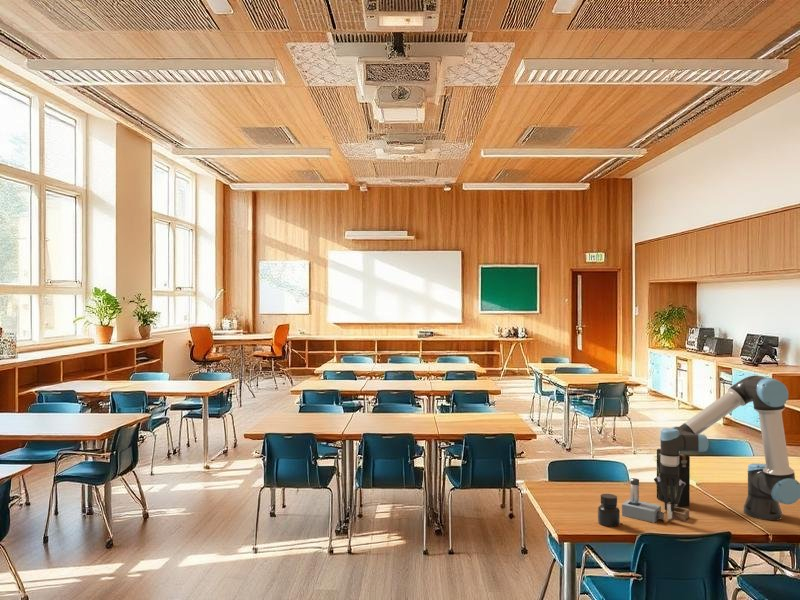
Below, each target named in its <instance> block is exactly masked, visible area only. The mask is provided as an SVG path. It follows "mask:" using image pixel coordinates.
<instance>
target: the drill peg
mask: <svg viewBox="0 0 800 600" xmlns="http://www.w3.org/2000/svg"><path fill="white" fill-rule="evenodd" d="M629 481H630V482H629V483H630V484H629V486H630V492H629V493H630V497H629V499H630V505H635V506H639V501H640V479H638V478H630V480H629Z"/></svg>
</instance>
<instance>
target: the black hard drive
mask: <svg viewBox="0 0 800 600" xmlns="http://www.w3.org/2000/svg"><path fill="white" fill-rule="evenodd" d="M660 459H661V448H657V449H656V477H659V475H660V465H661V464H662V463H661V462H660ZM690 461H691V458H690V454H689V455H688V454H685V453H683V452H681V451H679V465H678V466H679V477H680V480H681V481H683V482H685V483H686V485H685V486H684V487H683V490H682V494H681V498H680V501H679V503H678V504H675V507H680V508H688V507H690V505H691V504H690V503H691V502H690V501H691V499H690V496H691V493H690V492H691V491H690V489H691V487H690V486H691V485H690V484H691V483H690V482H691V478H690V476H691V473H690V467H691V465H690V463H691V462H690ZM660 480H661V479H660ZM660 482H661V486H662V490H663V494H664V483H663V482H662V480H661V481H660ZM679 487H680V486H679V482H678V483H677V484H676V485H675V500H676V497H677V493H678V489H679ZM656 498H657V500H659V501H661V500H660V497H659V493H658V489H657V488H656ZM669 502H670V503H671V489H670V486H669Z"/></svg>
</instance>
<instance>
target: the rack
mask: <svg viewBox="0 0 800 600" xmlns="http://www.w3.org/2000/svg"><path fill="white" fill-rule="evenodd" d="M665 511H667V510H665ZM689 518H690V509H689V508H686V507H675V510H674V512H672V518H671V519H670V520H675V521H678V522H683V523H685V522H687V521H688V519H689Z"/></svg>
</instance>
